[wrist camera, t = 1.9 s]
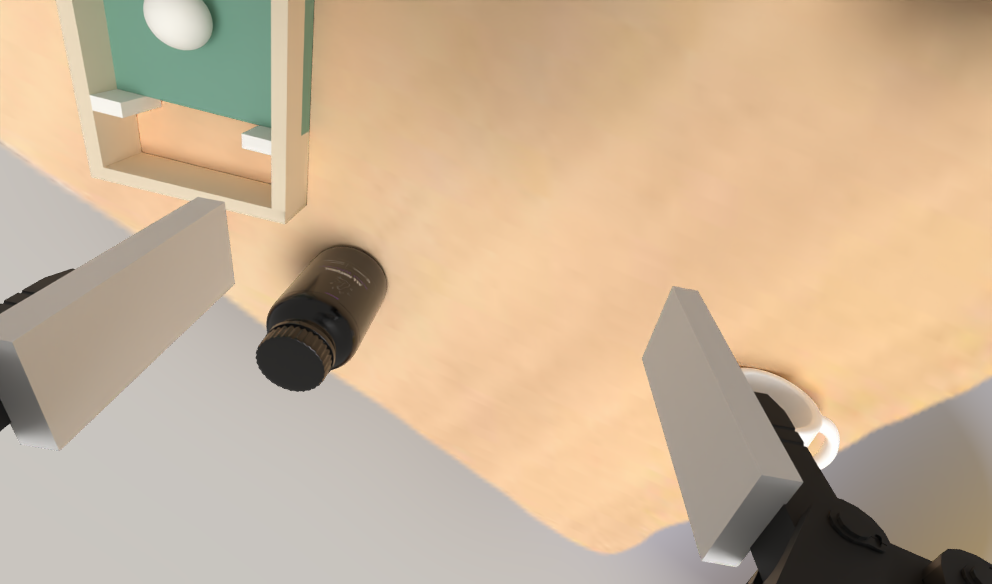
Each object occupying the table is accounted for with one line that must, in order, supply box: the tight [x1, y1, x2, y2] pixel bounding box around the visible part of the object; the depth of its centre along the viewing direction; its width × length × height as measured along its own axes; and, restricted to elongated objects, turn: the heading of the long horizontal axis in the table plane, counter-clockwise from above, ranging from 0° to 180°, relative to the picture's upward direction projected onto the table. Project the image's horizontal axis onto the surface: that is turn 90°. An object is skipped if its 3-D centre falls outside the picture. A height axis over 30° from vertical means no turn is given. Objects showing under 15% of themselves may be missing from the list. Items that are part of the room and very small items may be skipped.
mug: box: [741, 368, 840, 470], centre depth 44 cm, size 12×10×8 cm
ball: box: [143, 0, 213, 50], centre depth 30 cm, size 4×4×4 cm
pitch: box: [56, 0, 314, 224], centre depth 31 cm, size 24×14×4 cm, turn 166°
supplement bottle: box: [256, 247, 387, 392], centre depth 38 cm, size 7×7×12 cm
